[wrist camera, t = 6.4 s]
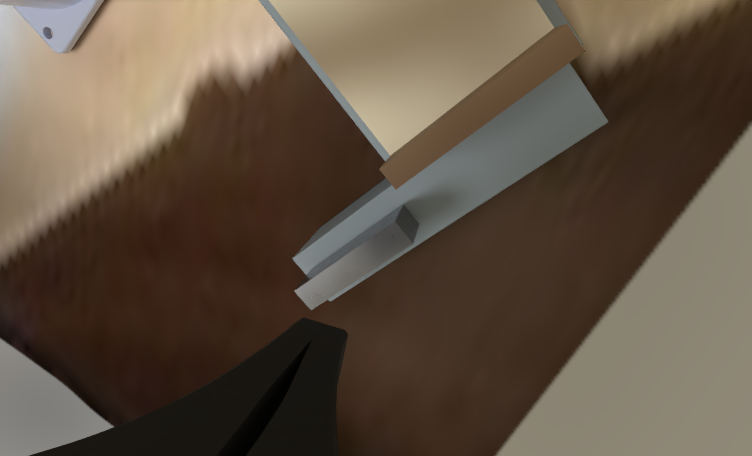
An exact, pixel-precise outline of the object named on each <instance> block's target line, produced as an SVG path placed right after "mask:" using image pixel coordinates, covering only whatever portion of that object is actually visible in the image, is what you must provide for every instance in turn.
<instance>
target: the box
mask: <svg viewBox="0 0 752 456" xmlns="http://www.w3.org/2000/svg"><path fill="white" fill-rule="evenodd" d="M259 1H260V3H261V4H262V5H263V6H264V8H265V9H266V10H267V12H268V13H269V14H270V15H271V17H272V18H273V19H274V20H275V22H276V23H277V24H278V26H279V27H280V28H281V29H282V31H283V32H284V33H285V34H286V36H287V37H288V38H289V40H290V41H291V42H292V43H293V45H294V46H295V47H296V48H297V50H298V51H299V52H300V54H301V55H302V56H303V57H304V59H305V60H306V61H307V62H308V64H309V65H310V66H311V68H312V69H313V70H314V71H315V73H316V74H317V75H318V76H319V78H320V79H321V80H322V82H323V83H324V84H325V85H326V87H327V88H328V89H329V90H330V92H331V93H332V94H333V96H334V97H335V98H336V99H337V101H338V102H339V103H340V104H341V106H342V107H343V108H344V110H345V111H346V112H347V113H348V115H349V116H350V117H351V118H352V120H353V121H354V122H355V124H356V125H357V126H358V127H359V129H360V130H361V131H362V132H363V134H364V135H365V136H366V138H367V139H368V140H369V141H370V143H371V144H372V145H373V146H374V148H375V149H376V150H377V152H378V153H379V154H380V155H381V157H382V158H383V159H384V160H385V161H386V160H387V159H388V158H389V157H390V155H389V154H388V152H387V151H386V150H385V149H384V147H383V146H382V145H381V143H380V142H379V141H378V140H377V138H376V137H375V136H374V134H373V133H372V132H371V131H370V129H369V128H368V127H367V126H366V124H365V123H364V122H363V120H362V119H361V118H360V117H359V115H358V114H357V113H356V111H355V110H354V109H353V108H352V106H351V105H350V104H349V102H348V101H347V100H346V99H345V97H344V96H343V95H342V94H341V92H340V91H339V90H338V88H337V87H336V86H335V85H334V83H333V82H332V81H331V79H330V78H329V77H328V76H327V74H326V73H325V72H324V70H323V69H322V68H321V67H320V65H319V64H318V63H317V62H316V60H315V59H314V58H313V56H312V55H311V54H310V53H309V51H308V50H307V49H306V47H305V46H304V45H303V44H302V42H301V41H300V40H299V38H298V37H297V36H296V35H295V33H294V32H293V31H292V29H291V28H290V27H289V26H288V24H287V23H286V22H285V21H284V19H283V18H282V17H281V15H280V14H279V13H278V12H277V10H276V9H275V8H274V6H273V5H272V4H271V3H270V1H269V0H259ZM536 1H537V2H538V4H539V5H540V7H541V8H542V10H543V11H544V13H545V14H546V16H547V17H548V19H549V20H550V22H551V24H552V25H553V27H554V28H555V27H558V26H561V25H564V24H568V25H569V27H570V28H571V30H572V31H573V33H574V35H575V36H576V38H577V39H578V41H579V42H580V44H581V45H583V44H582V42H581V41H580V39H579V38H578V36H577V34H576V33H575V31H574V30H573V28H572V27H571V25H570V24H569V22H568V20H567V19H566V17H565V16H564V14H563V13H562V11H561V10H560V8H559V7H558V5H557V3H556V2H555V0H536ZM606 123H608V120H607V119H606V117H605V116H604V114H603V113H602V111H601V110H600V108H599V107H598V105H597V104H596V102H595V101H594V99H593V98H592V96H591V95H590V93H589V91H588V90H587V88H586V87H585V85H584V84H583V82H582V81H581V79H580V78H579V76H578V75H577V73H576V72H575V70H574V69H573V67H572V66H571V64H570V63H568V64H567V65H566V66H564V67H563V68H562V69H560V70H559V71H557V72H556V73H555V74H553V75H552V76H551V77H549V78H548V79H547V80H545V81H544V82H542V83H541V84H540V85H538V86H537V87H536V88H534V89H533V90H532V91H530V92H529V93H527V94H526V95H525V96H523V97H522V98H521V99H519V100H518V101H516V102H515V103H514V104H512V105H511V106H510V107H508V108H507V109H506V110H504V111H503V112H501V113H500V114H499V115H497V116H496V117H495V118H493V119H492V120H491V121H489V122H488V123H486V124H485V125H484V126H482V127H481V128H480V129H478V130H477V131H476V132H474V133H473V134H471V135H470V136H469V137H467V138H466V139H465V140H463V141H462V142H460V143H459V144H458V145H456V146H455V147H454V148H452V149H451V150H450V151H448V152H447V153H445V154H444V155H443V156H441V157H440V158H439V159H437V160H436V161H435V162H433V163H432V164H430V165H429V166H428V167H426V168H425V169H424V170H422V171H421V172H419V173H418V174H417V175H415V176H414V177H413V178H411V179H410V180H409V181H407V182H406V183H404V184H403V185H402V186H400V187H399V188H398V189H396V190H395V188H394V187H393V186H392V185H391V183H390V182H389V181H388V180H387V178H385V179H384V180H383V181H381V182H380V183H379V184H377V185H376V186H375V187H374V188H372V189H371V190H370V191H368V192H367V193H366V194H364V195H363V196H362V197H360V198H359V199H358V200H356V201H355V202H354V203H352V204H351V205H350V206H348V207H347V208H346V209H344V210H343V211H342V212H340V213H339V214H338V215H336V216H335V217H334V218H332V219H331V220H330V221H328V222H327V223H326V224H325V225H323V226H322V227H321V228H319V230H318V231H317V232H316V233H315V234H314V235H313V236H312V237H311V238H310V240H309V241H308V242H307V243H306V244H305V245H304V246H303V247H302V249H301V250H300V251H299V252H298V253H297V254H296V255H295V256H294V257H293V260H294V261H295V262H296V264H297V265H298V266H299V267H300V268H301V269H302V270H303V272H304V273H305V274H306V275H307V274H308V272H309V271H310V270H311V269H312V268H313V267H315V266H316V265H318V264H319V263H320V262H322V261H323V260H325V259H326V258H327V257H329V256H330V255H332V254H333V253H335V252H336V251H337V250H339V249H340V248H342V247H343V246H344V245H346V244H347V243H349V242H350V241H352V240H353V239H354V238H356V237H357V236H359V235H360V234H361V233H363V232H364V231H366V230H367V229H368V228H370V227H371V226H373V225H374V224H376V223H377V222H378V221H380V220H381V219H383V218H384V217H385V216H387V215H388V214H390V213H391V212H392V211H394V210H395V209H397V208H398V207H400V206H401V205H402V204H404V205H405V207H406V208H407V209H408V210H409V212H410V213H411V214H412V216H413V217H414V218H415V219H416V221H417V222H418V223H419V227H418V231H417V234H416V237H415V240H414V243H413V244H412V245H411V246H409V247H408V248H406V249H405V250H403V251H401V252H400V253H398V254H397V255H395V256H394V257H392V258H391V259H389V260H388V261H386V262H385V263H383V264H381V265H380V266H378V267H377V268H375V269H374V270H372V271H371V272H369V273H368V274H366V275H365V276H363V277H362V278H360V279H358V280H357V281H355V282H354V283H352V284H351V285H349V286H348V287H346V288H345V289H343V290H342V291H340V292H338V293H337V294H335V295H334V296H332V297H331V298H329V299H328V300H329V301H332V300H333V299H335V298H337V297H338V296H340V295H341V294H343V293H344V292H346V291H347V290H349V289H350V288H352V287H354V286H355V285H357V284H358V283H360V282H361V281H363V280H364V279H366V278H367V277H369V276H371V275H372V274H374V273H375V272H377V271H378V270H380V269H381V268H383V267H385V266H386V265H388V264H389V263H391V262H392V261H394V260H395V259H397V258H398V257H400V256H402V255H403V254H405V253H406V252H408V251H409V250H411V249H412V248H414V247H416V246H417V245H419V244H420V243H422V242H423V241H425V240H426V239H428V238H429V237H431V236H433V235H434V234H436V233H437V232H439V231H440V230H442V229H443V228H445V227H446V226H448V225H450V224H451V223H453V222H454V221H456V220H457V219H459V218H460V217H462V216H464V215H465V214H467V213H468V212H470V211H471V210H473V209H474V208H476V207H477V206H479V205H481V204H482V203H484V202H485V201H487V200H488V199H490V198H491V197H493V196H495V195H496V194H498V193H499V192H501V191H502V190H504V189H505V188H507V187H508V186H510V185H512V184H513V183H515V182H516V181H518V180H519V179H521V178H522V177H524V176H525V175H527V174H529V173H530V172H532V171H533V170H535V169H536V168H538V167H539V166H541V165H543V164H544V163H546V162H547V161H549V160H550V159H552V158H553V157H555V156H556V155H558V154H560V153H561V152H563V151H564V150H566V149H567V148H569V147H570V146H572V145H573V144H575V143H577V142H578V141H580V140H581V139H583V138H584V137H586V136H587V135H589V134H591V133H592V132H594V131H595V130H597V129H598V128H600V127H601V126H603V125H604V124H606Z"/></svg>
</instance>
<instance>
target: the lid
mask: <svg viewBox="0 0 752 456" xmlns="http://www.w3.org/2000/svg"><path fill="white" fill-rule="evenodd" d="M269 1H270V3H271V4H272V5H273V6H274V8H275V9H276V10H277V12H278V13H279V14H280V15H281V17H282V18H283V19H284V21H285V22H286V23H287V24H288V26H289V27H290V28H291V29H292V31H293V32H294V33H295V35H296V36H297V37H298V38H299V40H300V41H301V42H302V44H303V45H304V46H305V47H306V49H307V50H308V51H309V53H310V54H311V55H312V56H313V58H314V59H315V60H316V62H317V63H318V64H319V65H320V67H321V68H322V69H323V70H324V72H325V73H326V74H327V76H328V77H329V78H330V79H331V81H332V82H333V83H334V85H335V86H336V87H337V88H338V90H339V91H340V92H341V94H342V95H343V96H344V97H345V99H346V100H347V101H348V102H349V104H350V105H351V106H352V108H353V109H354V110H355V111H356V113H357V114H358V115H359V117H360V118H361V119H362V120H363V122H364V123H365V124H366V126H367V127H368V128H369V129H370V131H371V132H372V133H373V134H374V136H375V137H376V138H377V140H378V141H379V142H380V143H381V145H382V146H383V147H384V149H385V150H386V151H387V152H388V154H389V155H390V157H389V158H388V159H387V160H386V161H385V163H384V164H383V165H382V166H381V167H380V169H379V170H380V171H381V172H382V173H383V175H384V176H385V177H386V178H387V180H388V181H389V182H390V183H391V185H392V186H393V187H394V188H395V190H396V189H398V188H399V187H400V186H402V185H403V184H404V183H406V182H407V181H409V180H410V179H411V178H413V177H414V176H415V175H417V174H418V173H419V172H421V171H422V170H424V169H425V168H426V167H428V166H429V165H430V164H432V163H433V162H435V161H436V160H437V159H439V158H440V157H441V156H443V155H444V154H445V153H447V152H448V151H450V150H451V149H452V148H454V147H455V146H456V145H458V144H459V143H460V142H462V141H463V140H465V139H466V138H467V137H469V136H470V135H471V134H473V133H474V132H476V131H477V130H478V129H480V128H481V127H482V126H484V125H485V124H486V123H488V122H489V121H491V120H492V119H493V118H495V117H496V116H497V115H499V114H500V113H501V112H503V111H504V110H506V109H507V108H508V107H510V106H511V105H512V104H514V103H515V102H516V101H518V100H519V99H521V98H522V97H523V96H525V95H526V94H527V93H529V92H530V91H532V90H533V89H534V88H536V87H537V86H538V85H540V84H541V83H542V82H544V81H545V80H547V79H548V78H549V77H551V76H552V75H553V74H555V73H556V72H557V71H559V70H560V69H562V68H563V67H564V66H566V65H567V64H568V63H570V62H571V61H573V60H574V59H575V58H577V57H578V56H579V55H581V54H582V53H583V52H585V50H584V48H583V47H582V45H581V44H580V42H579V41H578V39H577V38H576V36H575V35H574V33H573V31H572V30H571V28H570V27H569V25H568V24H564V25H561V26H558V27H555V28H554V27H553V25H552V24H551V22H550V20H549V19H548V17H547V16H546V14H545V13H544V11H543V10H542V8H541V7H540V5H539V4H538V2H537V1H536V0H269Z"/></svg>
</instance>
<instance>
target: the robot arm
mask: <svg viewBox="0 0 752 456" xmlns="http://www.w3.org/2000/svg"><path fill="white" fill-rule="evenodd" d="M103 1H104V0H0V4H1V5H11V6H13V7H14V8H15V9H16V10H17V11H18V12H19V13H20V14H21V16H22V17H23V18H24V19H25V20H26V21H27V22H28V23H29V24H30V25H31V27H32V28H33V29H34V30H35V31H36V32H37V33H38V34H39V35H40V37H41V38H42V39H43V40H44V41H45V42H46V43H47V44H48V45H49V46H50V48H51V49H52V50H53V51H55V52H56V53H59V54H65V53H69V52H70V51H71V49H72V48H73V46H74V45H75V43H76V42H77V40H78V39H79V37H80V36H81V34H82V33H83V31H84V30H85V28H86V27H87V25H88V24H89V22H90V21H91V19H92V18H93V16H94V14H95V13H96V11H97V10H98V8H99V7H100V5H101V4H102V2H103ZM51 31H52V33H53V36H52V35H51ZM347 337H348V334H347V332H346V331H345V330H343V329H340V328H336V327H333V326H330V325H326V324H323V323H320V322H316V321H313V320H310V319H307V318H302V319H300V320H298V321H297V322H296V323H295V324H293V325H292V326H291V327H290V328H288V329H287V330H286V331H285V332H283V333H282V334H281V335H280V336H278V337H277V338H276V339H274V340H273V341H272V342H270V343H269V344H268V345H266V346H265V347H263V348H262V349H260V350H259V351H258V352H256V353H255V354H253V355H252V356H251V357H249V358H248V359H246V360H245V361H243V362H242V363H240V364H239V365H237V366H235V367H234V368H232V369H231V370H229V371H227V372H226V373H224V374H223V375H221V376H219V377H218V378H216V379H214V380H213V381H211V382H209V383H208V384H206V385H204V386H202V387H200V388H199V389H197V390H195V391H193V392H191V393H189V394H187V395H185V396H183V397H182V398H180V399H178V400H175V401H173V402H171V403H169V404H167V405H165V406H163V407H161V408H159V409H156V410H154V411H152V412H150V413H148V414H145V415H143V416H141V417H139V418H136V419H134V420H132V421H129V422H126V423H124V424H121V425H119V426H116V427H113V428H111V429H108V430H106V431H103V432H101V433H98V434H95V435H92V436H90V437H87V438H84V439H81V440H78V441H75V442H72V443H69V444H66V445H62V446H59V447H56V448H53V449H50V450H46V451H43V452H40V453H36V454H33V455H30V456H338V446H337V427H336V396H337V385H338V381H339V376H340V371H341V366H342V361H343V356H344V352H345V347H346V342H347Z"/></svg>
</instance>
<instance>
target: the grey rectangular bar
mask: <svg viewBox="0 0 752 456" xmlns="http://www.w3.org/2000/svg"><path fill="white" fill-rule="evenodd" d="M418 227H419V223H418V222H417V221H416V219H415V218H414V217H413V216H412V214H411V213H410V212H409V210H408V209H407V208H406V207H405V205H404V204H402V205H401V206H400V207H398V208H397V209H395V210H394V211H392V212H391V213H390V214H388V215H387V216H385V217H384V218H383V219H381V220H380V221H378V222H377V223H376V224H374V225H373V226H371V227H370V228H368V229H367V230H366V231H364V232H363V233H361V234H360V235H359V236H357V237H356V238H354V239H353V240H352V241H350V242H349V243H347V244H346V245H344V246H343V247H342V248H340V249H339V250H337V251H336V252H335V253H333V254H332V255H330V256H329V257H327V258H326V259H325V260H323V261H322V262H320V263H319V264H318V265H316V266H315V267H313V268H312V269H311V270H310V271H309V272H308V274H307V275H306V276H305V278H304V279H303V280H302V282H301V283H300V284H299V285H298V287H297V288H296V289H295V291H294V292H295V293H296V294H297V295H298V296H299V297H300V298H301V299H302V301H303V302H304V303H305V304H306V305H307V306H308V307H309V308H310V309H311V310H312V309H314V308H315V307H317V306H318V305H320V304H322V303H323V302H325V301H326V300H328V299H329V298H331V297H332V296H334V295H335V294H337V293H338V292H340V291H342V290H343V289H345V288H346V287H348V286H349V285H351V284H352V283H354V282H355V281H357V280H358V279H360V278H362V277H363V276H365V275H366V274H368V273H369V272H371V271H372V270H374V269H375V268H377V267H378V266H380V265H381V264H383V263H385V262H386V261H388V260H389V259H391V258H392V257H394V256H395V255H397V254H398V253H400V252H401V251H403V250H405V249H406V248H408V247H409V246H411V245H412V244H413V243H414V240H415V237H416V234H417V231H418Z"/></svg>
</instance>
